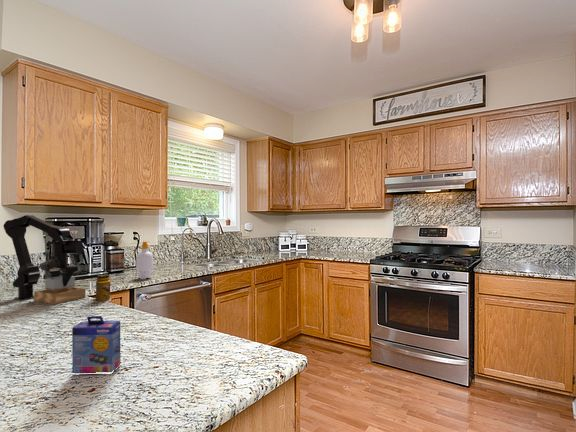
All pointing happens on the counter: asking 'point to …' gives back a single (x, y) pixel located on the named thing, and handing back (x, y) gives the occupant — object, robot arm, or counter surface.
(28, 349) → the counter surface
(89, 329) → the ink cartridge box
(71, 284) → the small crate
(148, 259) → the soap bottle
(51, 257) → the robot arm
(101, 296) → the condiment
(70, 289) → the big crate
